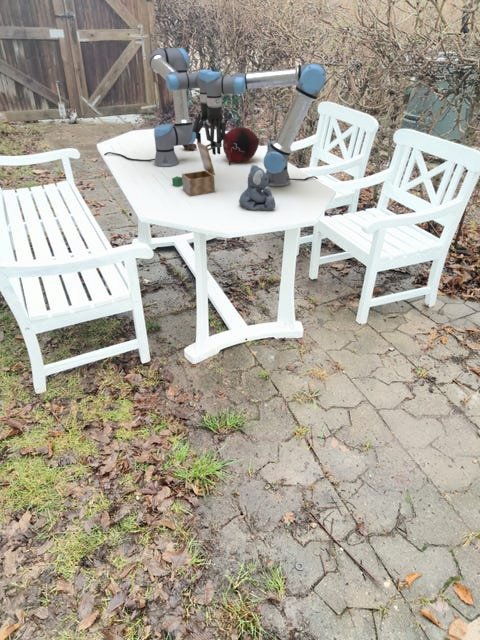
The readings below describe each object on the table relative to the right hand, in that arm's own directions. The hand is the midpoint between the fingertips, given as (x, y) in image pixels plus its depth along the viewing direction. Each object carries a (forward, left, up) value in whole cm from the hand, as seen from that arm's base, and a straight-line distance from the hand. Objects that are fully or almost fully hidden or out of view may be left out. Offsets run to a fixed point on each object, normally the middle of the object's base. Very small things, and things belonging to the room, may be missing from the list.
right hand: (216, 153), depth 243 cm
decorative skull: (-28, -51, -19) cm, 61 cm away
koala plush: (-12, +34, -19) cm, 41 cm away
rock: (-1, -89, -19) cm, 91 cm away
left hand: (0, -18, +2) cm, 18 cm away
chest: (+11, +2, -19) cm, 22 cm away
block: (+21, -11, -19) cm, 30 cm away
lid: (+7, +1, -2) cm, 7 cm away
